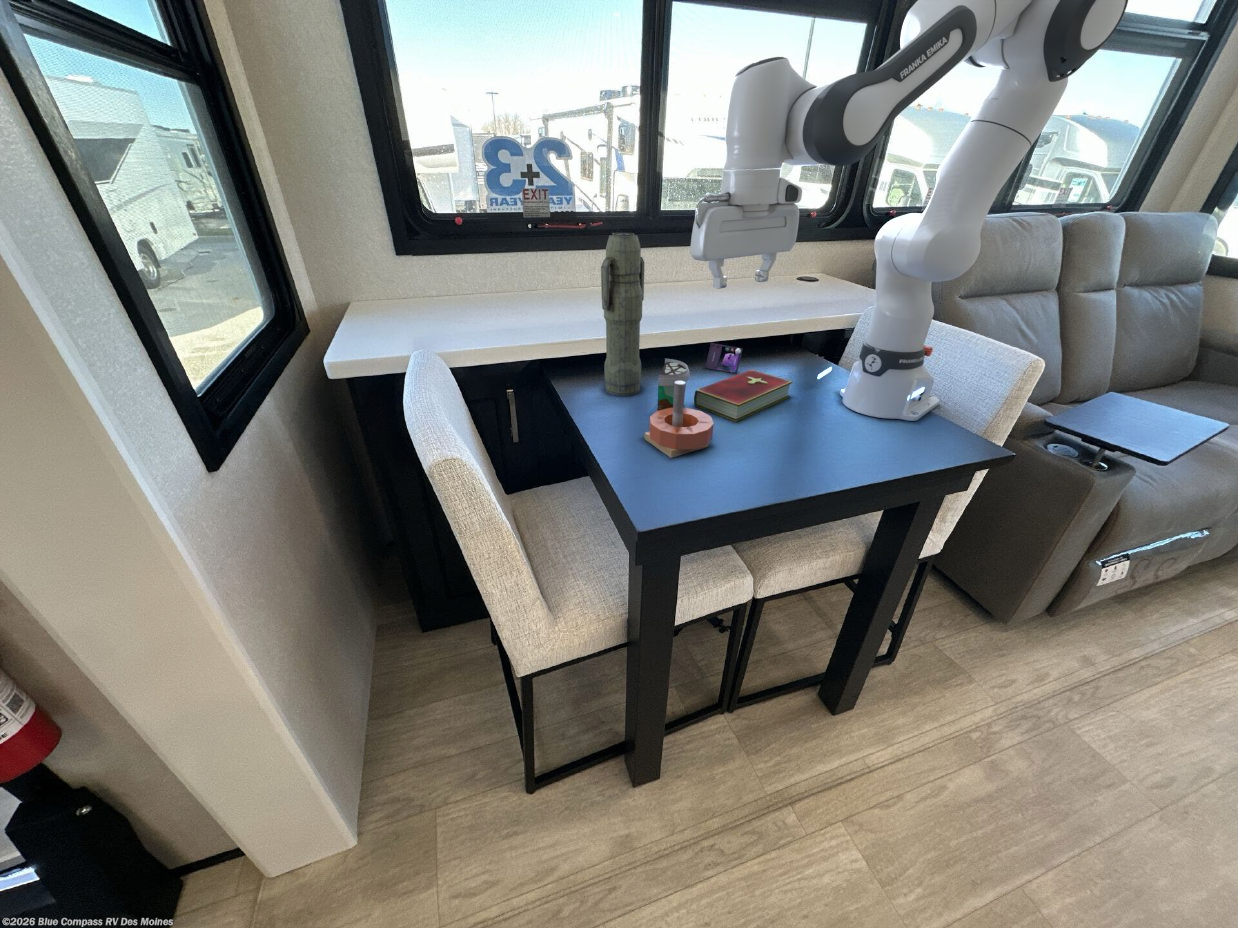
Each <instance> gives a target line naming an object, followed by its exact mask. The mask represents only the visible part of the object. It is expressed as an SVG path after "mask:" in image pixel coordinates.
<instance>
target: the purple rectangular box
mask: <svg viewBox="0 0 1238 928" xmlns="http://www.w3.org/2000/svg"><path fill="white" fill-rule="evenodd" d="M723 348H724V350H725V352H728V353H725V354H724V357H723V359H722V360H721V359H720V358H721V354H722V351H723ZM708 350H709V351H708V354H707V359H706V364H705V368H707V369H711V370H716V371H721V372H727V373H731V374H738V370H739V366H740V362H741V358H742V353H743V348H742V347H737V346H732V345H725V344H720V343H715V342H711V343H710V346H709V349H708ZM729 352H730V353H729ZM734 353H735V354H734ZM720 360H721V361H722V362H721V363H720ZM719 364H722V365H723V367H728V368H729V367H731V368H730V370H728V369H722V368H718V367H719Z"/></svg>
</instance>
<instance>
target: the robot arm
mask: <svg viewBox="0 0 1238 928" xmlns="http://www.w3.org/2000/svg"><path fill="white" fill-rule="evenodd" d="M1128 3H1129V0H917V1H915V3H914V4H913V5H912V6H911V7H910V8H909V10H908V11H907V13H906V15H905V17H904V20H903V23H902V27H901V31H900V39H899V40H900V41H899V42H900V43H899V44H900V47H899V48H900V49H898V51H896V52H895V53H894V54H892V56H890V57H889V58H888V59H886V60H885V61H884V62H883V63H882V64H880V65H879V66H878V67H877V68H875V69H873V70H869V71H863V72H856V73H853V74H850V75H847V76H845V77H842V78H840V79H838V80H835V81H834V82H830V83H826V84H824V85H821V86H818V85H815V84H813V83H811V82H809V81H808V80H806V79H805V78H804V77H802V76H801V75H800V74H799V73H798V72H797V71H796V70H795V69H794V67H793V66H792V65H791V63H790V61H789V58H787V57H785V56H773V57H769V58H764V59H760V60H758V61H756V62H752V63H749V64H747V65H746V66H744V67H742V68H741V69H739V71H738V72H737V73H735V75H734V77H733V79H732V81H731V86H730V89H729V94H728V102H727V107H726V108H727V109H726V117H725V127H724V141H725V151H726V153H725V158H724V162H723V165H722V170H721V171H722V172H721V186H720V188H721V189H720V192H719V193H714V194H713V193H706V194H704V195H703V197H702V198H700V199H699V200H698V202H697V203H696V205H695V209H694V221H693V226H692V232H691V237H690V238H691V239H690V250H689V252H690V255H691V257H692V259H693V260H695V261H701V262H708V268H709V270H710V273H711V275H712V277H713V280H712V287H713V288H714V289H717V290H720V289H726V288H727V286H728V283H727V282H728V276H726V275H725V276H724V274H723V270H722V267H724V265H725V260H727V259H735V258H736V259H737V258H743V257H744V258H745V257H752V256H753V257H754V256H760V255H761V256H760V257H761V258H760V259H761V260H762V262H761V263H760V266H759V269H757V270H755V274H754V275H755V277H754V281H755V282H757V283H765V282H768V281H769V277H770V271H771V269H772V267H773V266H774V264H775V262H776V261H777V253H787V252H790V251H792V249H793V248H794V246H795V244H796V241H797V237H798V230H799V222H800V209H799V206H798V203H800V202H801V200H802V196H803V188H802V187H800V186H799V185H797V184H794V183H793V182H791V181H789V180H788V179H786V178H785V177H782V176H781V175H782V168H783V164H787V165H790V166H794V167H801V166H802V167H803V166H808V167H809V166H822V165H825V166H833V167H845V166H850V165H852V164H855V163H857V162H859V161H860V160H862V159H863V158H864V157H866V156H867V155H868V154H869V153H870V152H871V151H872V149H873V148H874V147H875V146H876V145H877V143H878V142H879V140H880V139H881V138H882V137H883V135H884V133H885V132H886V130H887V129H888V128H889V126H890V125H891V124H892V123H893V121H894V120H895V119H896V118H897V117H898V116H899V115H900V114H901V113H902V112H903V111H904V110H906V108H908V107H909V106H910V105H912V104H913V103H914V102H915V101H916V100H918V99H920V97H921V96H922V95H923V94H925V93H926V92H927V91H928V90H929V89H931V88H932V87H933V86H935V85H936V84H937V83H938V82H939V81H940V80H941V79H943V78H944V77H945V76H947V74H948V73H950V72H951V71H952V70H953V69H954V68H955V67H957V66H958V65H959V64H961V63H963V62H964V63H966V64H968V65H970V66H972V67H975V68H988V67H989V68H995V69H1000V72H999V76H998V79H997V82H996V84H995V86H994V87H993V89H992V90H991V91H990V92H989V94H987V96H986V97H985V99H984V100H983V102H982V103H981V104H980V105H979V107H978V108H977V109H976V111H975V112H974V114H973V116H972V117H971V118H970V119H969V121H968V123H967V124H966V125H965V127H964V129H963V130H962V132H961V133H960V135H959V136H958V138H957V139H956V140H955V142H954V144H953V145H952V147H951V149H950V150H949V152H947V154H946V156H945V158H944V159H943V161H942V162H941V163H940V165H939V167H938V169H937V171H936V175H935V179H936V181H935V186H934V189H933V192H932V194H931V196H930V199H929V201H928V203H927V206H926V207H925V209H924V210H923V212H922V213H917V212H911V213H907V214H903V215H900V216H897V217H894V218H892V219H890V220H889V221H887V222H886V223H885V224H884V225H883V226H882V227H881V228H880V229H879V231H878V232H877V234H876V236H875V239H874V243H873V249H874V254H875V258H876V272H875V273H876V274H875V293H874V305H873V310H872V313H871V319H870V322H869V326H868V330H867V334H866V339H865V340H864V341H863V342H862V346H861V347H860V350H859V352H860V353H859V360H857V361H855V362H854V363H853V365H852V367H851V371H850V374H849V376H848V380H847V382H846V384H845V388H842V389H840V391H839V395H840V396H841V397H842V403H843V405H844V406H845V407H846V408H848V409H850V410H851V411H854V412H856V413H859V414H862V415H864V416H869V417H874V418H881V419H889V420H890V419H891V420H893V419H896V420H903V421H909V422H917V421H919V420H920V419H921V418H923V417H924V416H925V415H927V414H928V413H930V411H932V410H934V409H935V408H937V406H939V405H940V401H941V400H940V399H939V398H937V397H936V396H935V395H932V394H931V392H932V389H933V385H934V377H933V376H932V375H931V374H930V372H929V371H928V370H927V368H925V366H924V364H925V363H924V362H925V357H931V355H932V354H933V352H934V347H932V346H927V345H925V344H926V343H925V342H926V340H927V336H928V334H929V331H930V327H931V324H932V322H933V318H934V314H935V305H934V301H933V297H932V283H935V282H947V281H951V280H955V279H957V278H959V277H961V276H963V275H964V274H965V273H967V272H968V271H969V270H970V269H971V268H972V266H973V265H974V264H975V263H976V261H977V259H978V257H979V255H980V252H981V248H982V247H981V246H982V239H981V232H982V229H983V227H984V224H985V222H986V218H987V216H988V214H989V211H990V209H991V208H992V206H993V203H994V201H995V200H996V198H997V196H998V195H999V193H1000V191H1001V189H1002V188H1003V187H1004V185H1005V184H1006V182H1007V181H1008V180H1009V178H1010V176H1011V175H1012V174H1013V173H1014V171H1015V170H1016V168H1017V167H1018V165H1019V164H1020V163H1021V161H1022V160H1023V158H1024V157H1025V156H1026V154H1027V153H1028V151H1029V150H1030V149H1031V147H1032V146H1033V145H1034V143H1035V142H1036V141H1037V139H1038V137H1039V136H1040V134H1041V133H1042V131H1043V130H1044V129H1045V127H1046V125H1047V123H1048V122H1049V121H1050V119H1051V117H1052V115H1053V114H1054V112H1055V110H1056V109H1057V106H1058V105H1059V103H1060V101H1061V99H1062V96H1063V95H1064V92H1065V91H1066V89H1067V87H1068V83H1069V77H1071V76H1072V75H1074V73H1076V72H1078V70H1080V68H1082V66H1083V65H1085V63H1086V62H1087V61H1089V60H1090V59H1091V58H1092V57H1093V56H1094V55H1095V54H1097V52H1098V51H1099V50H1100V49H1101V48H1102V47H1103V46H1105V44H1106V42H1107V41H1108V40H1109V39H1110V38H1111V36H1112V35H1113V34H1114V32H1115V31H1116V29H1117V28H1118V27H1119V25H1120V23H1121V21H1122V19H1123V17H1124V15H1125V13H1126V9H1127V7H1128ZM832 369H833V367H832V366H830V367H829V368H827V369H825V370H823V371H822V372H820V373H819V374H818V375H817V380H820V379H821V378H823V377H824V376H826V375H827V374H829V373H830V372H831V371H832Z"/></svg>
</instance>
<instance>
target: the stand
mask: <svg viewBox="0 0 1238 928" xmlns="http://www.w3.org/2000/svg"><path fill="white" fill-rule="evenodd" d="M685 395H686V388H685V382H684V381H675V383H674V400H673V417H672V426H675V427H682V425H683V411H684V408H685ZM644 441H646V442H648V443H649V444H651V445H652V446H654V447H655V448H656V449H657V450H659V451H660V452H661V453H663V454H664V455H666V456H668V457H669V458H671V459H672V458H676V457H679V456H683V455H685V454H688V453H692V452H695V451H698V450H702V449H705V448H708V447H709V446H710V442H709V443H708V444H707V445H705V446H702V447H698V448H695V449H672V448H668V447H664V446H660V445H659V444H657V443H656V442H654V441H653V440H652V439H650V434H649V431H646V432H644Z"/></svg>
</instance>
